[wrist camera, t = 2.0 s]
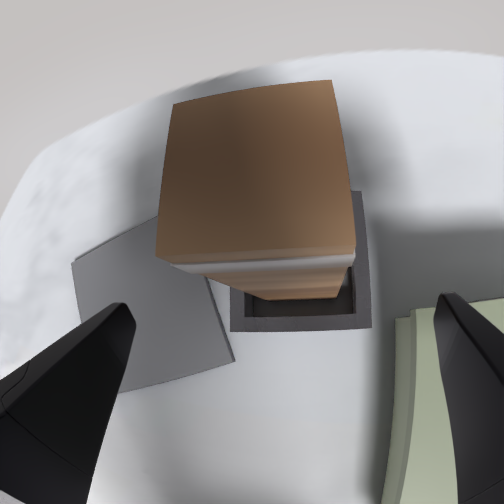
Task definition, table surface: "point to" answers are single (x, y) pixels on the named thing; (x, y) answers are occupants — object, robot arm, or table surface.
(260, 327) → the dark grey square frame
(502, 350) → the robot arm
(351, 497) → the table surface
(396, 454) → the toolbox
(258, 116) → the banded wooden block
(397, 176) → the table surface
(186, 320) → the mat
